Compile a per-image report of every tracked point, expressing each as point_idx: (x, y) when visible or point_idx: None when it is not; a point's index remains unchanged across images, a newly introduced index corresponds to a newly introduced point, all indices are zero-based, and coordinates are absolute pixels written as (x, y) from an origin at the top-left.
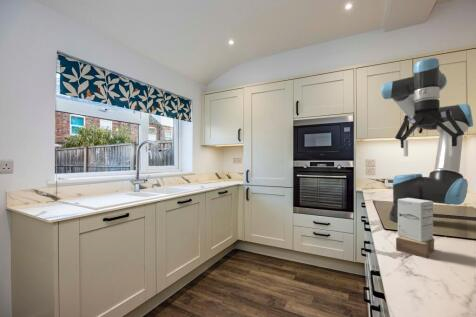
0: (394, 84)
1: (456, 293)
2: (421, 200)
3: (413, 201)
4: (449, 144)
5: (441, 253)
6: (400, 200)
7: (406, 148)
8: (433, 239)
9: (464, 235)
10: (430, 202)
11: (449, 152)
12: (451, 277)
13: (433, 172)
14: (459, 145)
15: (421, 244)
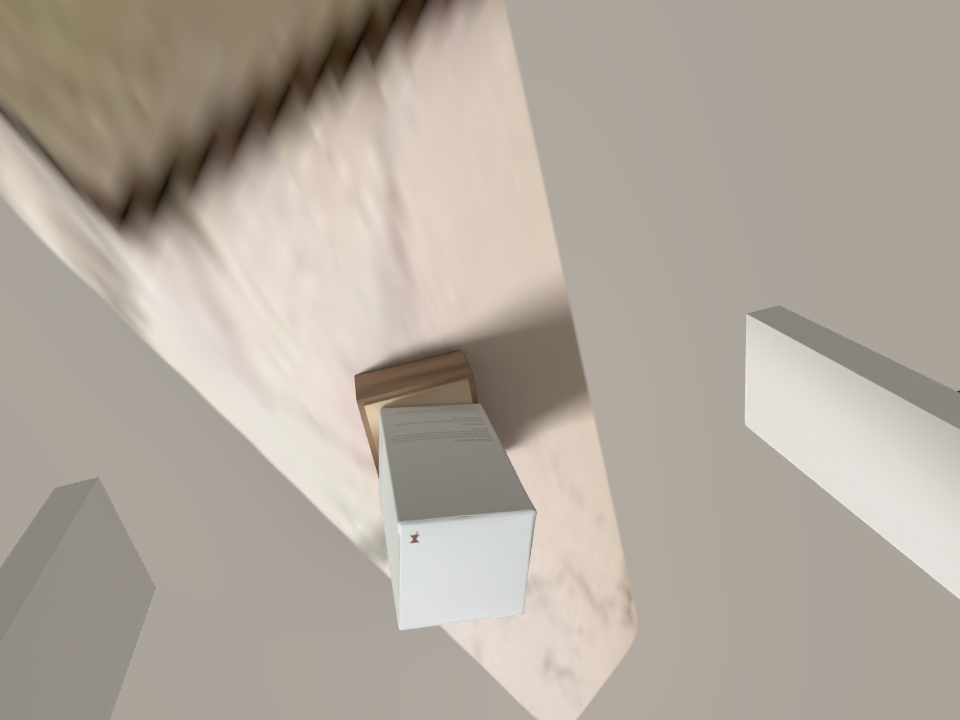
0: None
1: (607, 594)
2: (496, 560)
3: (484, 616)
4: (895, 536)
5: (492, 362)
6: (416, 626)
7: (82, 699)
8: (472, 379)
9: None
10: (532, 534)
11: (784, 449)
12: (577, 529)
13: None
14: None
15: None
